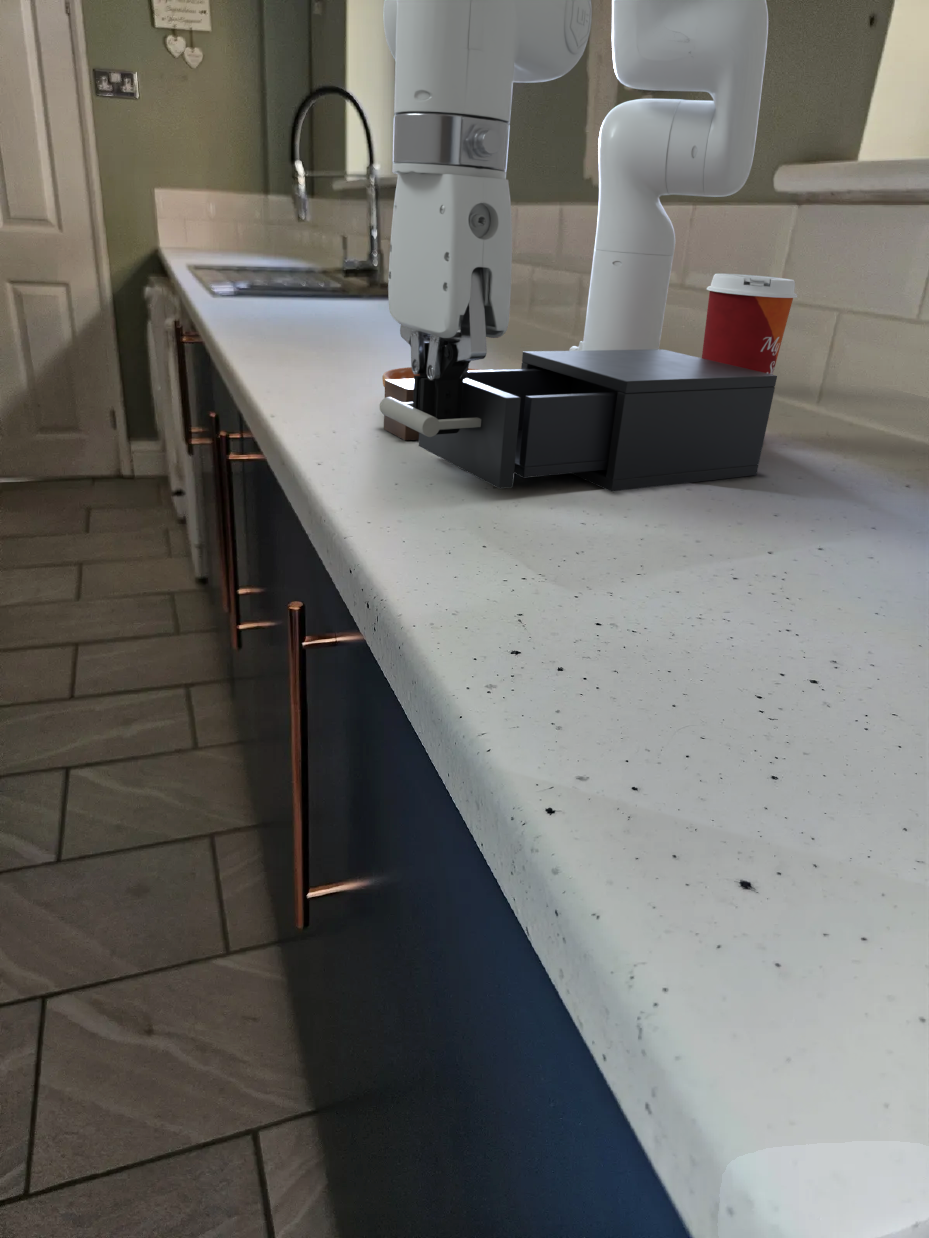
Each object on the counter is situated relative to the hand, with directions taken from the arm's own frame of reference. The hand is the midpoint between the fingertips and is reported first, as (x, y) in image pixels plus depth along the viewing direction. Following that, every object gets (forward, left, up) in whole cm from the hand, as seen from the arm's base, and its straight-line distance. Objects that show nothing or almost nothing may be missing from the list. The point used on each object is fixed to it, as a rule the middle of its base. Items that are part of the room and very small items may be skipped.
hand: (435, 431), depth 65 cm
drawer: (0, +7, -3) cm, 7 cm away
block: (-14, +6, -4) cm, 16 cm away
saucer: (-24, +16, -4) cm, 29 cm away
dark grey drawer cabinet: (0, +20, -4) cm, 20 cm away
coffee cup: (-5, +36, -4) cm, 36 cm away
